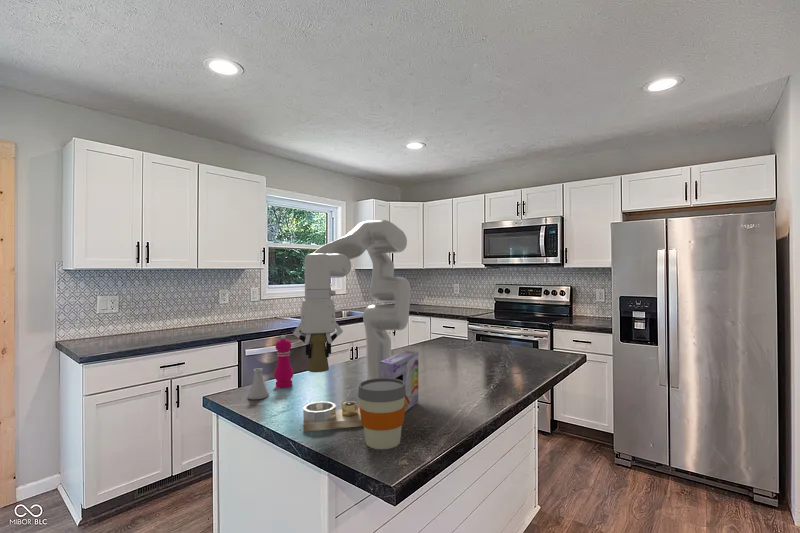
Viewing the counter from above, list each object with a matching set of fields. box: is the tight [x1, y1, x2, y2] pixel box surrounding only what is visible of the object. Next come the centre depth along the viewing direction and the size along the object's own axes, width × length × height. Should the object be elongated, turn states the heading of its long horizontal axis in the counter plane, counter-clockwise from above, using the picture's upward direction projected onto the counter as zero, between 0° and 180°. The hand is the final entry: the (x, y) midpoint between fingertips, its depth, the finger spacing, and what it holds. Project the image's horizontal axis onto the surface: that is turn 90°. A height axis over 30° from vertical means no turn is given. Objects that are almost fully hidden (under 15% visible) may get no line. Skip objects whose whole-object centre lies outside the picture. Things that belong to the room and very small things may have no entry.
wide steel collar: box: [302, 401, 337, 423], centre depth 119 cm, size 9×9×3 cm
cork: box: [307, 334, 330, 373], centre depth 119 cm, size 6×6×11 cm
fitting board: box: [302, 407, 363, 433], centre depth 120 cm, size 18×10×2 cm, turn 102°
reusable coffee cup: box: [357, 378, 406, 450], centre depth 105 cm, size 13×13×15 cm
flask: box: [247, 367, 270, 400], centre depth 145 cm, size 7×7×10 cm
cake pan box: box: [380, 349, 419, 413], centre depth 128 cm, size 19×5×18 cm, turn 151°
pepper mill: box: [273, 334, 294, 389], centre depth 159 cm, size 7×7×20 cm
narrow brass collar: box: [341, 400, 359, 417], centre depth 121 cm, size 5×5×3 cm
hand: (318, 356), depth 119 cm, fingers closed on cork, 4 cm apart
